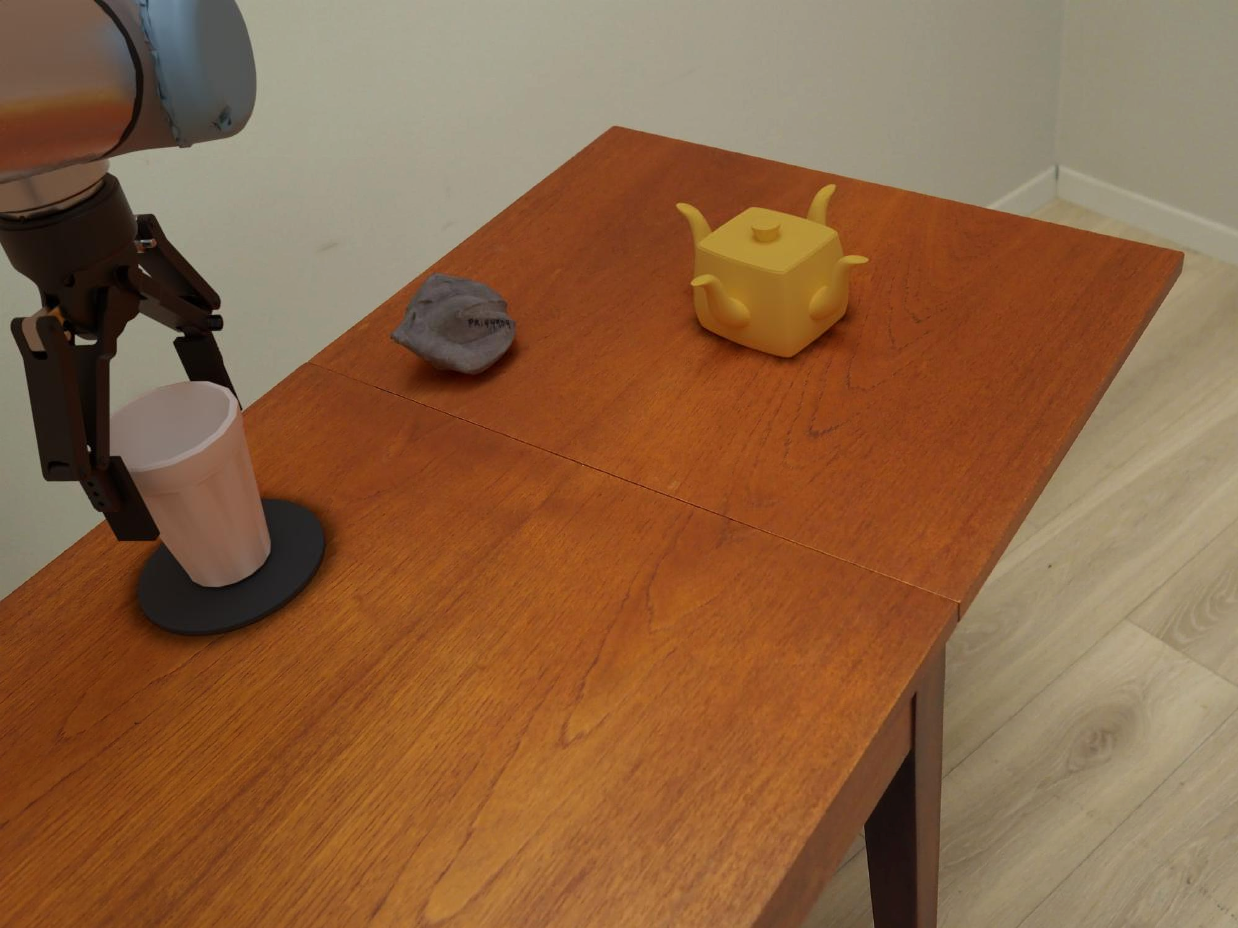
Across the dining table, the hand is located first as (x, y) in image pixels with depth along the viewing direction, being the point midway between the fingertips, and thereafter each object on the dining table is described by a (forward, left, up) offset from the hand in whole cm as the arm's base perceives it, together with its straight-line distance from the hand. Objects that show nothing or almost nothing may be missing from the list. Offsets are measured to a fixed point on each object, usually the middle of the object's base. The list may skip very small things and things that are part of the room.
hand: (184, 471), depth 82 cm
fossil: (+28, +3, -10) cm, 30 cm away
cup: (0, 0, -9) cm, 9 cm away
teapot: (+46, -18, -10) cm, 51 cm away
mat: (0, 0, -10) cm, 10 cm away
